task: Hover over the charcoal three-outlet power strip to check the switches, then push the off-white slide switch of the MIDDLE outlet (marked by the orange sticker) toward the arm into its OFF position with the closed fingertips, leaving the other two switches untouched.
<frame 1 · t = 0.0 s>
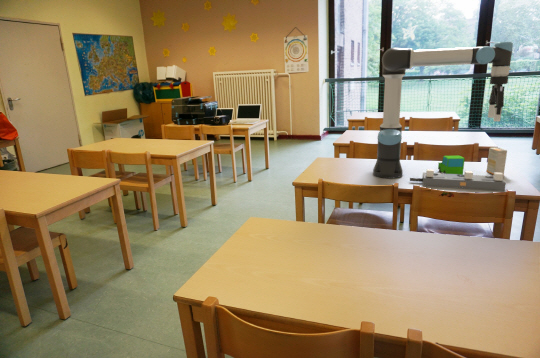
hand: (493, 119, 184), 28 cm above the table, fingers open, 13 cm apart
toy car: (449, 174, 193), on the table
slider middle: (468, 174, 169), point 6 cm above the table, slide at 4.5 cm
supplement box: (494, 173, 190), on the table
slider near arm: (429, 173, 175), point 6 cm above the table, slide at 0.0 cm
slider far: (498, 176, 166), point 6 cm above the table, slide at 4.5 cm
power strip: (460, 185, 174), on the table
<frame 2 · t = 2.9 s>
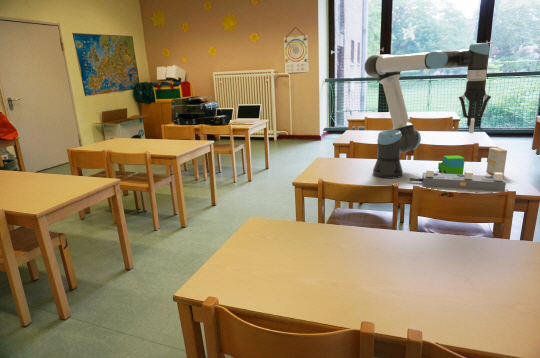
hand: (471, 132, 169), 25 cm above the table, fingers closed
nothing on the table moved.
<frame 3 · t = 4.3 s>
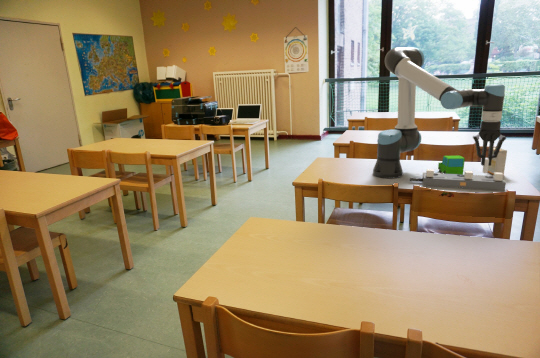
hand: (485, 172, 167), 8 cm above the table, fingers closed
nothing on the table moved.
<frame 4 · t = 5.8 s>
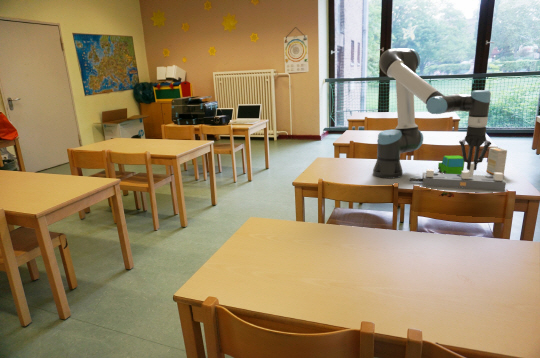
hand: (470, 176, 170), 5 cm above the table, fingers closed
slider middle: (465, 174, 170), point 6 cm above the table, slide at 3.2 cm, touching gripper
everything else where it was.
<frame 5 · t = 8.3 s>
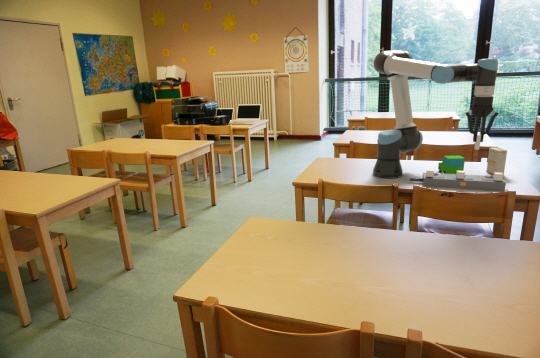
hand: (476, 148, 165), 18 cm above the table, fingers closed
slider middle: (460, 174, 171), point 6 cm above the table, slide at 1.1 cm
everything else where it was.
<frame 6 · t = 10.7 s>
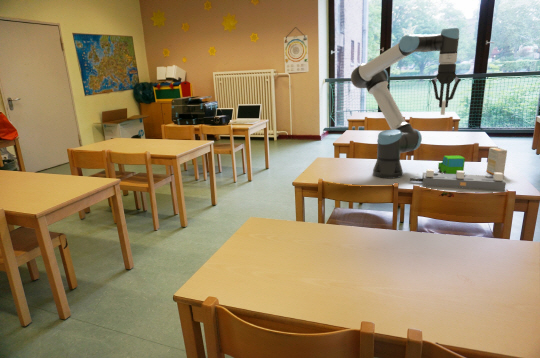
hand: (442, 114, 177), 32 cm above the table, fingers closed
nothing on the table moved.
at the end: slider middle slide at 1.1 cm; slider near arm slide at 0.0 cm; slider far slide at 4.5 cm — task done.
